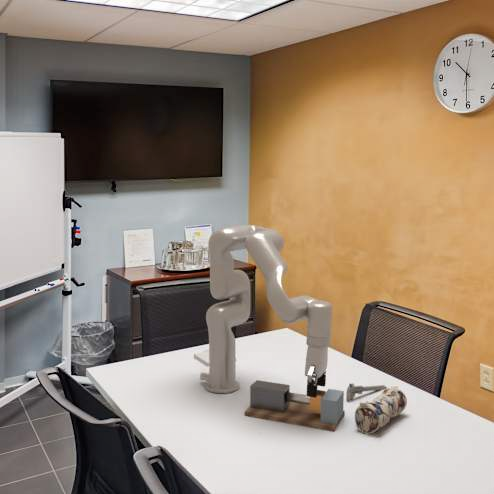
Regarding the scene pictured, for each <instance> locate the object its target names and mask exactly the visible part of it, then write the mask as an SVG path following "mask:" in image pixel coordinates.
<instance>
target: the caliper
mask: <svg viewBox="0 0 494 494" xmlns="http://www.w3.org/2000/svg"><path fill="white" fill-rule="evenodd" d="M348 384H349V385H348V386H347V389H346V402H350V401H354V399H355V396H356V394H358V395H363V392H371V391H382V389H383V390H385V389H387V388H388V386H386V385H384V384H380V385H379V384H378V385H369V386H368V385H366V386H364V385H355V384H354V383H352V382H351V383H348Z"/></svg>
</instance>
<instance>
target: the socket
mask: <svg viewBox="0 0 494 494" xmlns="http://www.w3.org/2000/svg"><path fill="white" fill-rule="evenodd" d="M344 392H345V391H344V390H339V389H332V388H328V389H327V390H326V393H325V394H324V396H323V397H322V398H321V421H320V422H326V423H332V424H337V422H338V420H339V419H340V417H341V416H342V414H343V411H344V399H345V398H344V395H345V393H344Z"/></svg>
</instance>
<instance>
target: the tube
mask: <svg viewBox="0 0 494 494" xmlns="http://www.w3.org/2000/svg"><path fill="white" fill-rule="evenodd" d="M326 392H327V390H320V389H317V397H316V398H314V397H309V396H307V394H302V393H298V392H297V393H296V392H285V401H287V402H294V403H300V404H306V405H310V410H309V412H312V413H318V414H321V398H322V397H323V396H324V394H325V393H326Z"/></svg>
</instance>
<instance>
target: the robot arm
mask: <svg viewBox="0 0 494 494" xmlns="http://www.w3.org/2000/svg"><path fill="white" fill-rule="evenodd" d="M284 244H285V242H284V237H283V236H282V235H281V233H280V232H278V230H275V229H272V228H268V227H263V226H259V225H253V224H242V225H240V224H239V225H232V226H225V227H221V228H219V229H216V230H215V231H214V232H212V233H211V235H210V237H209V239H208V245H207V248H208V255H209V264H210V265H209V290H210V294H211V296H212V297H213V299H216V300H219V301H221V302H217V303H214V304H213V305H211V306H210V307H209V308H208V309H207V311H206V313H205V320H206V325H207V329H208V330H207V331H208V332H207V333H208V346H209V347H208V350H209V368H208V370H209V371H208V372H209V373H207V372H200V375H199V377H200V378H199V379H200V380H201V381H206V382H205V384H204V386H205V387H204V388H205V389H206V390H207V391H208V392H210V393H215V394H229V393H234V392H236V391H238V390H239V389H240V387H241V385H240V382H239V381H238V380H236V361H235V357H236V338H235V334H234V333H233V331H232V328H233V327H235V326H240V325H242V324H244V323H245V322H247V321H248V319H249V317H250V315H251V281H250V278H249V276H248V274H247V273H246V272H245V271H243V270H240V269H235V261H234V257H233V255H232V253H231V252H233V251H241V250H247V252H248V254H249V255H250V257H251V259H252V260H253V261H254V263H255V265H256V266H257V268H258V269H259V271H260V273H261V274H262V276H263V277H264V279H265V294H266V298H267V301H268V303H269V305H270V307H271V308H272V310H273V312H274V313H275V315H276V316H277V317H278V318H279V320H281V322H283V323H286V324H294V323H297V322H300V321H303V320H307V321H306V324H307V325H306V343H305V345H307V348H306V357H305V368H304V376H305V377H307V379H306V381H307V382H306V395H307V396H309V397H314V398H316V397H317V390H318V386H319V387H323V388H324V387H326V384H327V383H326V382H327V381H326V380H327V379H326V377H327V376H326V374H327V368H328V362H329V361H328V354H329V350H328V349H329V348H330V346H331V339H332V338H331V334H332V315H333V306H332V304H331V302H329V301H326V300H322V299H321V300H320V299H316V298H314V297H312V296H309V295H307V294H306V295H305V294H304V295H298V296H295V297H292V298H289V296H288V295H287V293H286V291H285V290H284V288H283V287H284V286H283V284H282V278H283V276H284V275H285V274H286V273H287V271H288V264H287V262H286V261H285V259H284V258H283V257H282V255H281V254H280V252H281V251H282V250H283V248H284ZM226 299H229V300H226ZM223 300H224V301H223Z"/></svg>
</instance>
